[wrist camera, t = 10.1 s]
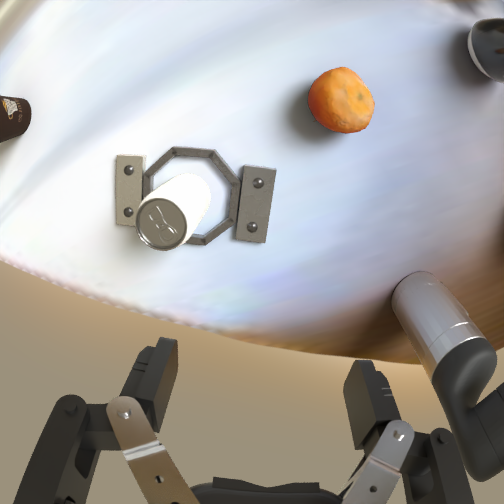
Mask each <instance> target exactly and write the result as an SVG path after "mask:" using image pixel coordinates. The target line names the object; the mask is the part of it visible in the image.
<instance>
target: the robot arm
mask: <svg viewBox="0 0 504 504" xmlns="http://www.w3.org/2000/svg"><path fill="white" fill-rule="evenodd" d="M391 305H392V309H393V311H394V313H395V315H396V317H397V318H398V320H399V322H400V324H401V326H402V328H403V329H404V331H405V333H406V335H407V337H408V339H409V340H410V342H411V344H412V346H413V348H414V350H415V352H416V354H417V356H418V358H419V359H420V361H421V363H422V365H423V367H424V369H425V371H426V373H427V375H428V377H429V379H430V381H431V383H432V385H433V387H434V389H435V391H436V393H437V396H438V398H439V400H440V403H441V405H442V407H443V409H444V412H445V414H446V417H447V419H448V422H449V425H450V427H451V430H452V433H453V434H452V433H451V432H450V431H449V430H447V429H444V428H437V429H435V430H433V431H432V432H431V434H425V433H420V432H415V431H414V430H413V428H412V427H411V425H409V424H408V423H407V422H405V421H402V420H401V417H400V414H399V411H398V408H397V405H396V403H395V399H394V397H393V396H392V391H391V389H390V386H389V383H388V380H387V378H386V377H385V376H384V375H383V374H382V373H381V371H376V370H375V367H374V364H373V362H372V361H371V360H355V362H354V363H353V365H352V367H351V370H350V372H349V374H348V376H347V378H346V380H345V383H344V389H343V393H344V398H345V403H346V407H347V411H348V417H349V421H350V426H351V431H352V436H353V441H354V446H355V450H361V449H364V453H365V454H364V455H363V457H362V458H361V460H360V461H359V463H358V464H357V466H356V467H355V469H354V470H353V472H352V474H351V475H350V476H349V478H348V479H347V481H346V482H345V484H344V485H343V486H342V488H341V489H340V490H339V492H338V493H337V494H334V493H332V492H329V491H327V490H324V489H320V488H319V483H317V482H315V483H290V484H285V485H280V486H275V487H268V488H267V487H262V486H259V485H255V484H252V483H249V482H245V481H242V480H236V479H227V478H219V477H213V482H212V483H204V484H199V485H196V486H193V487H190V488H189V486H188V485H187V483H186V482H185V480H184V479H183V477H182V475H181V474H180V472H179V471H178V469H177V467H176V466H175V464H174V462H173V461H172V459H171V457H170V456H169V454H168V452H167V450H166V449H165V447H164V446H163V445H162V444H160V442H159V441H158V439H157V437H156V435H155V433H154V432H157V433H159V432H160V428H161V425H162V422H163V418H164V415H165V412H166V408H167V405H168V402H169V399H170V395H171V392H172V389H173V386H174V382H175V379H176V376H177V371H178V349H177V348H178V345H177V340H175V339H169V338H164V337H160V338H159V340H158V343H157V345H156V347H151V346H147V347H146V348H144V349H143V350H142V351H141V352H140V353H139V355H138V357H137V359H136V362H135V363H134V365H133V367H132V370H131V372H130V374H129V376H128V378H127V380H126V383H125V385H124V387H123V389H122V391H121V393H120V395H119V397H116V398H114V399H112V400H111V401H110V402H109V403H107V404H86V403H85V401H84V400H83V399H82V398H81V397H79V396H77V395H66V396H63V397H61V398H60V399H59V400H58V401H57V402H56V404H55V406H54V408H53V411H52V412H51V415H50V417H49V419H48V421H47V423H46V425H45V427H44V429H43V431H42V434H41V436H40V438H39V440H38V443H37V445H36V447H35V449H34V452H33V454H32V456H31V459H30V461H29V463H28V466H27V468H26V471H25V473H24V476H23V478H22V481H21V484H20V486H19V489H18V492H17V495H16V497H15V500H14V503H13V504H85V503H86V499H87V495H88V492H89V488H90V485H91V481H92V478H93V475H94V471H95V468H96V465H97V461H98V458H99V455H100V452H101V450H122V452H123V454H124V456H125V458H126V461H127V463H128V465H129V467H130V469H131V471H132V473H133V475H134V477H135V479H136V481H137V483H138V485H139V487H140V489H141V491H142V493H143V495H144V497H145V498H146V500H147V502H148V504H386V503H387V501H388V499H389V497H390V496H391V494H392V492H393V490H394V488H395V486H396V484H397V482H398V480H399V478H400V476H401V473H402V478H403V483H404V488H405V495H406V500H407V504H474V500H473V496H472V492H471V489H470V485H469V482H468V478H467V475H466V471H465V469H466V470H467V472H468V474H469V475H470V476H471V477H472V478H473V479H474V480H476V481H479V482H484V481H486V480H488V479H490V478H492V477H493V476H495V475H496V474H498V473H500V472H501V471H502V470H504V383H502V384H501V385H500V386H499V387H497V388H496V390H494V391H493V392H492V393H490V394H489V395H488V396H487V397H486V398H485V399H483V400H482V401H481V402H479V403H478V404H477V405H476V403H477V401H478V399H479V397H480V394H481V393H482V391H483V389H484V388H485V386H486V385H487V383H488V382H489V380H490V379H491V377H492V375H493V373H494V371H495V368H496V365H497V355H496V352H495V350H494V348H493V347H492V346H491V344H490V343H489V342H488V340H487V339H486V338H485V337H484V335H483V334H482V333H481V331H480V330H479V329H478V328H477V326H476V325H475V324H474V323H473V321H472V320H471V319H470V318H469V316H468V312H467V311H466V309H465V308H464V307H463V306H462V305H461V304H460V302H459V301H458V300H457V299H456V298H455V297H454V295H453V294H452V293H451V292H450V291H449V290H448V289H447V287H446V286H445V285H444V284H443V283H442V282H439V281H438V280H437V279H436V277H435V276H433V275H432V274H431V273H428V272H416V273H413V274H411V275H409V276H407V277H406V278H405V279H403V280H402V281H401V282H400V283H399V284H398V286H397V287H396V289H395V291H394V293H393V296H392V300H391ZM463 464H464V465H463ZM464 466H465V468H464Z"/></svg>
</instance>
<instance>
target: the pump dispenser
mask: <svg viewBox="0 0 504 504" xmlns="http://www.w3.org/2000/svg"><path fill="white" fill-rule="evenodd" d="M468 49H469V53H470V56H471V58H472V60H473V62H474V63H475V65H476V66H477V67H478V68H479V70H480V71H482V72H483V73H484V74H485V75H487V76H488V77H490V78H492V79H494V80H495V81H497V82H500V83H504V18H489V19H483V20H480V21H478V22H476V23H475V24H474V26H473V28H472V29H471V31H470V33H469V36H468Z"/></svg>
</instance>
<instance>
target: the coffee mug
mask: <svg viewBox="0 0 504 504" xmlns="http://www.w3.org/2000/svg"><path fill="white" fill-rule="evenodd" d="M30 121H31V107H30V104H29V103H28V101H27V100H25V99H22V98H14V97H6V96H0V143H1V142H3V141H6V140H8V139H11V138H14V137H16V136H19V135H21V134H23V133H24V132H25V131H26V130H27V128H28V126H29V124H30Z"/></svg>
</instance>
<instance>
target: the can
mask: <svg viewBox="0 0 504 504" xmlns="http://www.w3.org/2000/svg"><path fill="white" fill-rule="evenodd" d="M210 201H211V194H210V190H209V187H208V186H207V184H206V183H205V181H204V180H203V179H201V178H200V177H198V176H196V175H194V174H188V173H186V174H180V175H177V176H175V177H174V178H172V179H171V180H169V181H167V182H166V183H164V184H163V185H161V186H160V187H158V188H157V189H156V190H154V191H153V192H151V193H150V194H149V195H147V196H146V197H145V198H144V199H143V201H142V202H141V204H140V206H139V208H138V211H137V213H136V217H135V227H136V231H137V233H138V235H139V237H140V238H141V240H142V241H143V242H144V243H145V244H146V245H148V246H149V247H151V248H153V249H156V250H160V251H167V250H172V249H174V248H176V247H178V246H180V245H182V244H184V243H185V242H186V241H187V240H188V239H189V238H190V236H191V235H192V234H193V232H194V230H195V229H196V227H197V226H198V224H199V222H200V221H201V219H202V218H203V216H204V214H205V213H206V211H207V209H208V207H209V205H210Z"/></svg>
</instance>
